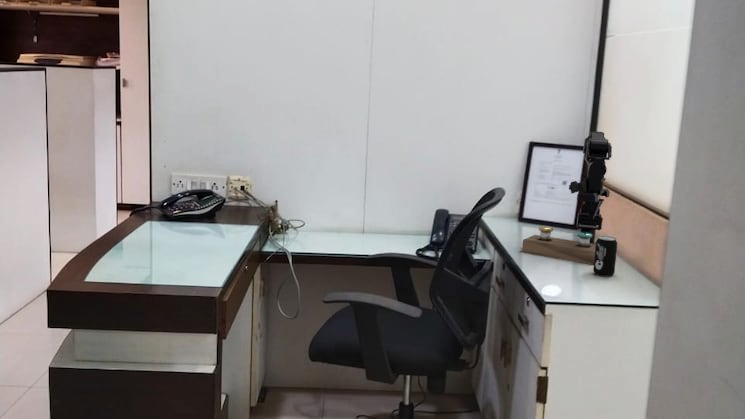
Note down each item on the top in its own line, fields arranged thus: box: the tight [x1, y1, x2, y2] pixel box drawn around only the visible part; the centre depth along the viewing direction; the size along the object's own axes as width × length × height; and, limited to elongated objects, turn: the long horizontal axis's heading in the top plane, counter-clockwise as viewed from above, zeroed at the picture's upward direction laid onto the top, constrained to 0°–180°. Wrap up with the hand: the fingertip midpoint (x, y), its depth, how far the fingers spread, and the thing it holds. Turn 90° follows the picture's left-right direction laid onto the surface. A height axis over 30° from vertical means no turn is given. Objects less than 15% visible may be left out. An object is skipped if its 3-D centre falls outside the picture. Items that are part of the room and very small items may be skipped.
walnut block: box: [521, 234, 596, 266], centre depth 262 cm, size 12×26×4 cm, turn 57°
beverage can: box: [592, 235, 618, 277], centre depth 238 cm, size 7×7×12 cm
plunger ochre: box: [538, 225, 554, 242], centre depth 265 cm, size 5×5×5 cm
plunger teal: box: [576, 231, 592, 248], centre depth 258 cm, size 5×5×5 cm
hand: (591, 218), depth 261 cm, fingers closed
